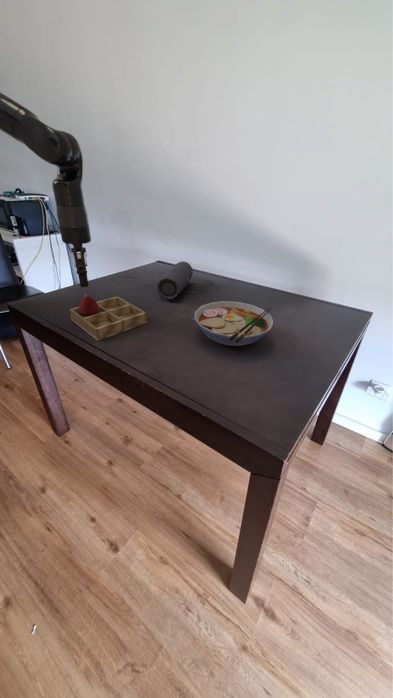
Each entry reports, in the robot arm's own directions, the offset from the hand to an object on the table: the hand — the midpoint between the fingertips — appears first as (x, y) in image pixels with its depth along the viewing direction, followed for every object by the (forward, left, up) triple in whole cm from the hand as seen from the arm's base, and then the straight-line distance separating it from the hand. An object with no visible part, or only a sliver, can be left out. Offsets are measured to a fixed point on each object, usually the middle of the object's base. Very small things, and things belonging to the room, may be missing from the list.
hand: (84, 281), depth 85 cm
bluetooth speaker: (+38, +2, -13) cm, 40 cm away
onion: (0, 0, -12) cm, 12 cm away
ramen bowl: (+26, -37, -13) cm, 47 cm away
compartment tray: (+4, -4, -13) cm, 14 cm away
